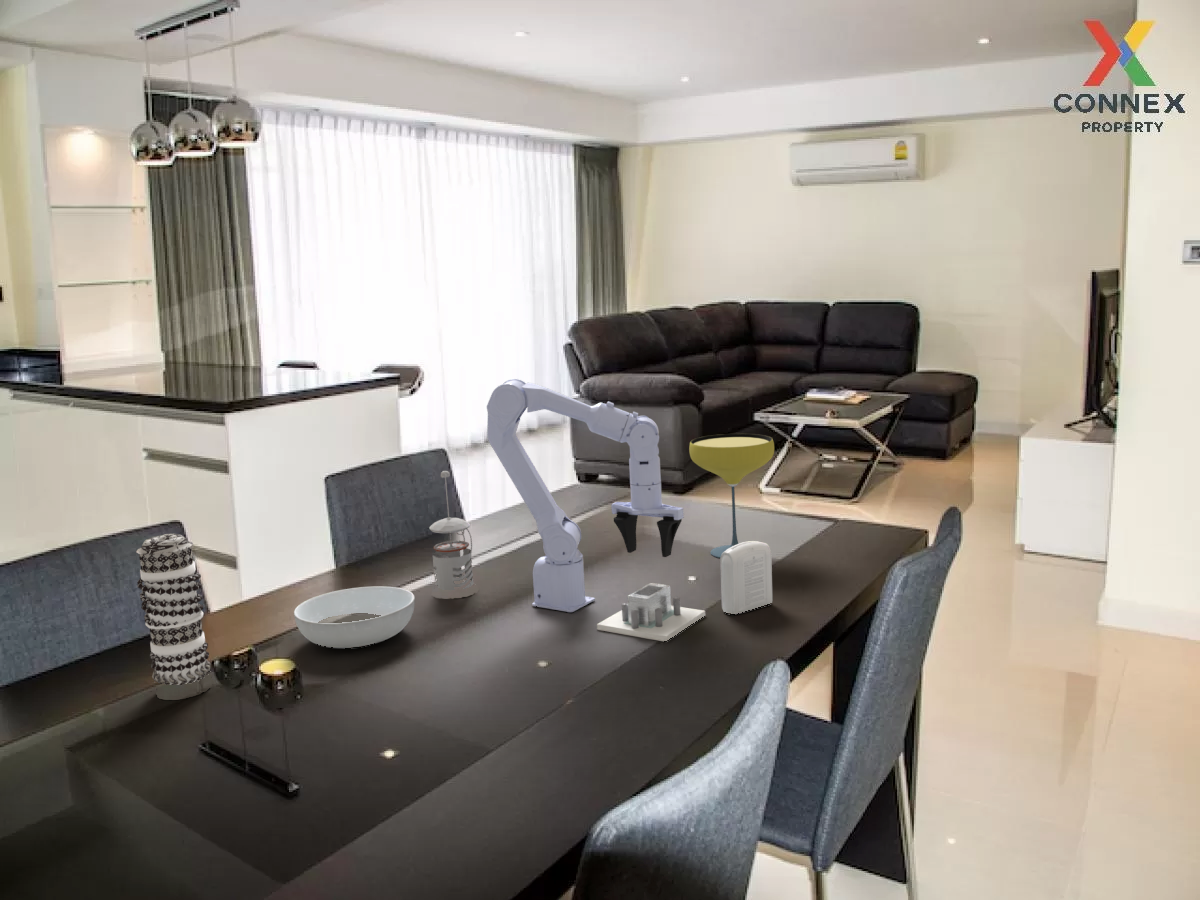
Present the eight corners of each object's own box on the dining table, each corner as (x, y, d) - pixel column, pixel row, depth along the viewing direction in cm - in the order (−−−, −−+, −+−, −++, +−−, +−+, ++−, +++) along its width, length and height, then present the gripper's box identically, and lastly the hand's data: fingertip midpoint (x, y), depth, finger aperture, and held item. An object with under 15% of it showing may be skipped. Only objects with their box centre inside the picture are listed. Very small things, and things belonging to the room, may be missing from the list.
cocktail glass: (789, 546, 218) (786, 434, 213) (756, 568, 203) (753, 449, 198) (715, 538, 227) (711, 432, 223) (679, 559, 212) (674, 445, 208)
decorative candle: (154, 707, 150) (132, 549, 146) (151, 686, 158) (129, 536, 154) (218, 693, 154) (198, 538, 150) (211, 673, 162) (192, 527, 158)
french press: (421, 597, 196) (410, 475, 192) (451, 580, 207) (441, 463, 203) (464, 601, 192) (453, 476, 188) (492, 583, 203) (482, 464, 199)
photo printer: (760, 599, 183) (758, 535, 181) (776, 604, 180) (774, 539, 178) (718, 611, 178) (715, 545, 176) (733, 617, 174) (731, 550, 172)
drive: (628, 623, 171) (627, 595, 171) (652, 609, 178) (650, 582, 177) (648, 626, 169) (647, 598, 168) (671, 612, 176) (670, 585, 175)
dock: (597, 629, 172) (596, 607, 172) (638, 605, 184) (637, 585, 183) (666, 641, 165) (665, 619, 164) (705, 616, 176) (704, 594, 175)
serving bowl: (440, 625, 179) (437, 589, 178) (368, 668, 161) (364, 628, 160) (350, 615, 188) (346, 580, 187) (271, 654, 170) (267, 616, 168)
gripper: (601, 484, 183) (605, 554, 185) (668, 489, 174) (672, 563, 177) (621, 477, 188) (625, 545, 191) (687, 481, 180) (690, 553, 183)
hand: (649, 553), depth 184 cm, fingers open, 7 cm apart
